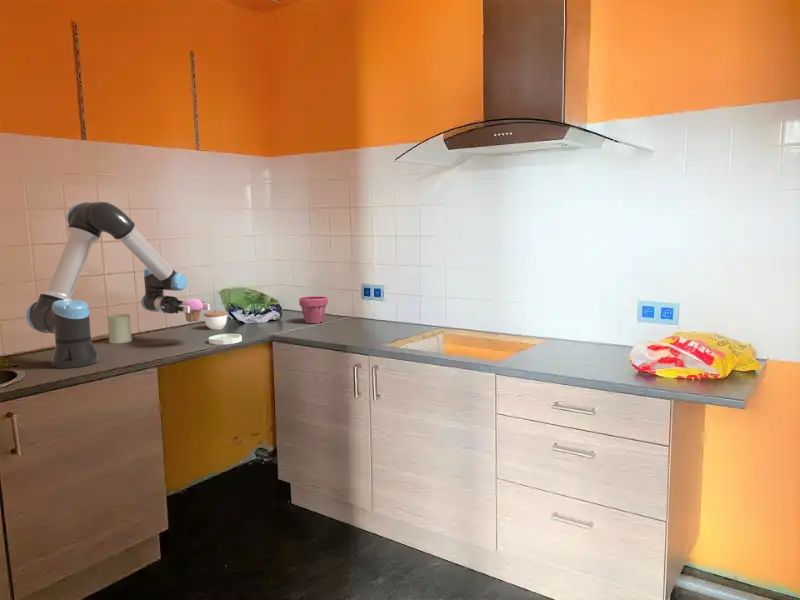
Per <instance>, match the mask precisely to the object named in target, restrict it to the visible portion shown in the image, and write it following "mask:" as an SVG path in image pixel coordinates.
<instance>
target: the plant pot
mask: <svg viewBox="0 0 800 600" xmlns="http://www.w3.org/2000/svg"><path fill="white" fill-rule="evenodd" d="M298 299H299V302H298V303H299V306H300V307H301V311H302V316H303V319H304V323H305V324H308V323H318V324H321V323H320V322H323V323H324V320H325V319H324V318H325V316H326V315H325V314H326V308H327V305H328V303H329V302H328V301H329V300H328V297H327V296H320V295H316V296H315V295H313V296H302V297H299V298H298Z"/></svg>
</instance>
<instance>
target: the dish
mask: <svg viewBox="0 0 800 600" xmlns="http://www.w3.org/2000/svg"><path fill="white" fill-rule="evenodd" d="M242 341H243V337H242V335H241V334H240V333H239V334H237V333H223V334H222V333H221V334H215V335H210V336H209V337H208V344H209V345H210V344H211V345H217V346H218V345H220V346H221V345H223V346H224V345H233V344H236V343H240V342H242Z"/></svg>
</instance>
